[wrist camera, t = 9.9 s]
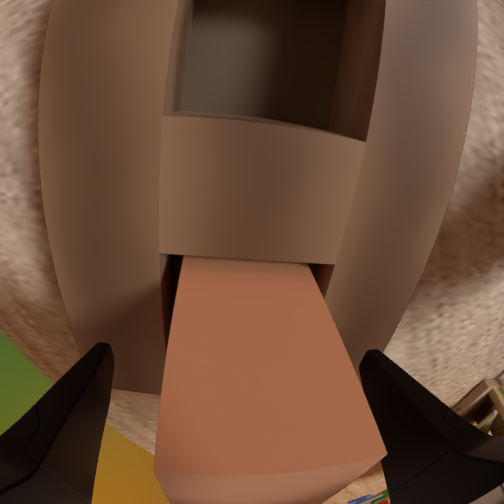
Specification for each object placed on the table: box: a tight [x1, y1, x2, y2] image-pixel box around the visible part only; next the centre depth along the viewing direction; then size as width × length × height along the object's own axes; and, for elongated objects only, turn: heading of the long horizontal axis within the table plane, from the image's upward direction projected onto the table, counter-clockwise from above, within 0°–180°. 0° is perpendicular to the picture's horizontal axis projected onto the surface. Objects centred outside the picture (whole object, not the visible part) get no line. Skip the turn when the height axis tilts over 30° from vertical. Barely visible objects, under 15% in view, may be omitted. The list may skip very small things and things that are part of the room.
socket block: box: [38, 0, 478, 395], centre depth 10 cm, size 14×20×4 cm
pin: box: [154, 255, 387, 504], centre depth 10 cm, size 4×4×10 cm
